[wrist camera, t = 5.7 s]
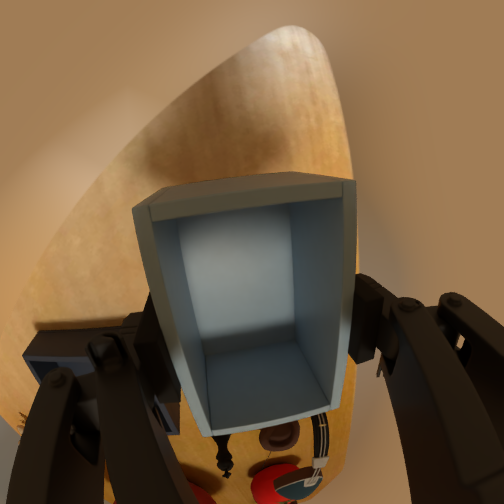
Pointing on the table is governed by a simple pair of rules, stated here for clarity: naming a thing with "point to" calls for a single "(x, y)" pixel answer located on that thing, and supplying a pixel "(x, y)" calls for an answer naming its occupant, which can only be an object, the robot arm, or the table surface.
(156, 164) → the table surface
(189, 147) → the table surface
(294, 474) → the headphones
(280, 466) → the tomato
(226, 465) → the chess piece
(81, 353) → the big bin
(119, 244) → the table surface
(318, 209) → the small bin
